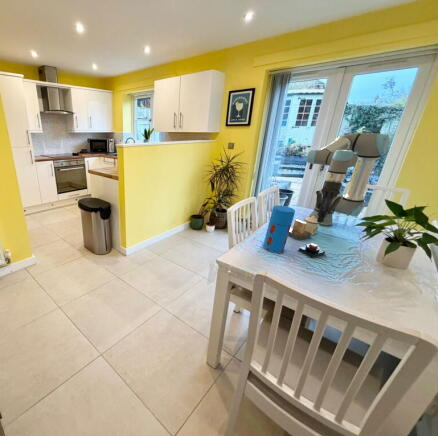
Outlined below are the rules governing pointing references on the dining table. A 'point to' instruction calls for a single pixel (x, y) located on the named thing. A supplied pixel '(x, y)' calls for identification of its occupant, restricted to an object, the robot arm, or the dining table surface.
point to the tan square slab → (299, 226)
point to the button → (313, 245)
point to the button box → (311, 251)
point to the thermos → (278, 228)
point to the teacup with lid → (311, 225)
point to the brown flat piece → (299, 234)
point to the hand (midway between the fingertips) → (319, 221)
